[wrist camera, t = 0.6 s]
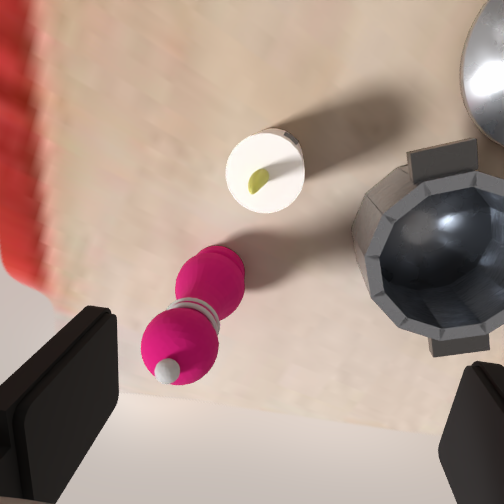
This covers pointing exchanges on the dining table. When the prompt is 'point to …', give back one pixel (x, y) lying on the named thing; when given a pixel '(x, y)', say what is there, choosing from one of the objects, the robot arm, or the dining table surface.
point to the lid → (485, 71)
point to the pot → (436, 247)
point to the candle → (266, 171)
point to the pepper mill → (194, 317)
